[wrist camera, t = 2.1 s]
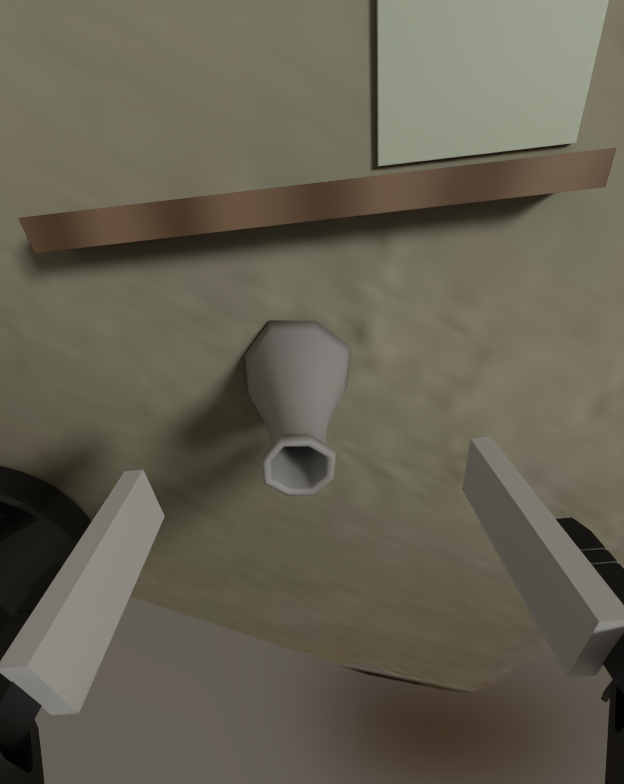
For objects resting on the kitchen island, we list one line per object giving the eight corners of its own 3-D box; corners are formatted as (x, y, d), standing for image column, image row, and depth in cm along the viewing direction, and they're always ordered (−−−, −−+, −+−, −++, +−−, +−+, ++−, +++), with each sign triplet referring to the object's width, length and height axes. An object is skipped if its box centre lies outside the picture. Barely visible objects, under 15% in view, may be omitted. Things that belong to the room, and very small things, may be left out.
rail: (71, 245, 19) (34, 253, 16) (58, 215, 18) (18, 217, 15) (561, 188, 18) (605, 187, 16) (569, 155, 18) (616, 147, 15)
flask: (232, 397, 24) (197, 509, 15) (260, 300, 21) (235, 373, 12) (327, 423, 25) (344, 539, 17) (367, 337, 22) (414, 425, 14)
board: (377, 166, 18) (378, 166, 17) (375, -112, 13) (377, -119, 13) (571, 143, 17) (575, 142, 17) (637, -146, 13) (644, -153, 13)
